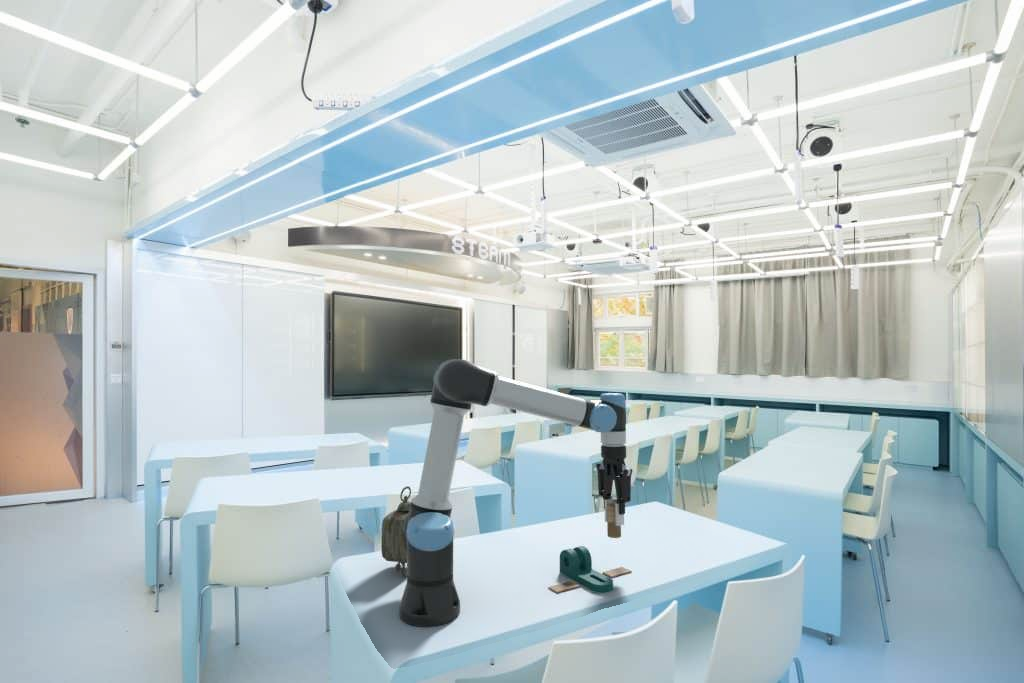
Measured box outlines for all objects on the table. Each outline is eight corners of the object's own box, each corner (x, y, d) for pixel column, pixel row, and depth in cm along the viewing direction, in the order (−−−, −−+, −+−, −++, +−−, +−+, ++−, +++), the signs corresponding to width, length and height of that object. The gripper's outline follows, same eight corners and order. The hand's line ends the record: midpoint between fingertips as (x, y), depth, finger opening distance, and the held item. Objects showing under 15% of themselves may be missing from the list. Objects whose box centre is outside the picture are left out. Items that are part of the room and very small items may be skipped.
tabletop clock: (407, 580, 157) (408, 493, 158) (379, 577, 159) (380, 491, 160) (427, 562, 171) (427, 482, 172) (401, 559, 173) (401, 481, 174)
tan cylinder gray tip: (613, 538, 159) (612, 501, 159) (604, 535, 162) (604, 498, 163) (623, 536, 161) (623, 499, 161) (615, 533, 164) (614, 496, 165)
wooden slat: (557, 593, 147) (557, 591, 147) (548, 588, 151) (548, 586, 151) (631, 572, 162) (631, 570, 162) (622, 568, 166) (622, 566, 166)
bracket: (559, 573, 162) (559, 547, 162) (577, 569, 165) (577, 543, 166) (599, 595, 146) (599, 566, 147) (618, 590, 150) (617, 561, 150)
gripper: (643, 447, 158) (644, 528, 157) (603, 440, 172) (604, 514, 171) (624, 449, 154) (625, 532, 153) (585, 442, 168) (586, 518, 167)
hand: (614, 522), depth 162 cm, fingers closed on tan cylinder gray tip, 4 cm apart
